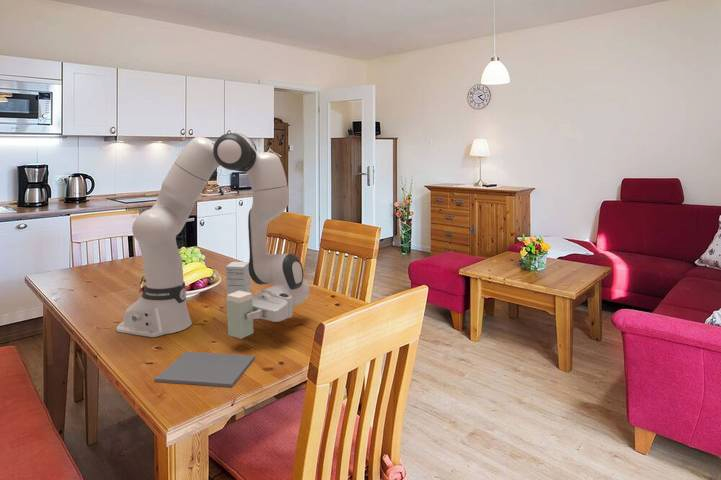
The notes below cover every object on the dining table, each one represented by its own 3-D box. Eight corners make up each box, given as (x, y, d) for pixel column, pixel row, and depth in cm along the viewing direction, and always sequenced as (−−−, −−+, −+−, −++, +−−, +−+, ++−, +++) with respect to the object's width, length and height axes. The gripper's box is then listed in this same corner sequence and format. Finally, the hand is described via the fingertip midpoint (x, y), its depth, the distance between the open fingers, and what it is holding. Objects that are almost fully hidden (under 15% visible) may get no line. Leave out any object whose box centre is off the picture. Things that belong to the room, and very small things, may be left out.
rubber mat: (154, 381, 116) (154, 378, 116) (186, 354, 132) (186, 351, 132) (231, 387, 114) (231, 384, 114) (254, 358, 129) (254, 355, 129)
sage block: (228, 335, 135) (226, 294, 133) (240, 329, 139) (239, 290, 137) (240, 338, 132) (239, 297, 130) (253, 333, 137) (252, 293, 134)
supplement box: (233, 292, 189) (231, 261, 187) (251, 292, 189) (250, 262, 186) (226, 297, 182) (224, 266, 180) (245, 298, 181) (243, 266, 179)
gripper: (245, 286, 150) (211, 298, 138) (296, 297, 140) (264, 311, 128) (245, 305, 151) (212, 318, 140) (296, 317, 141) (265, 332, 129)
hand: (237, 314), depth 134 cm, fingers closed on sage block, 5 cm apart
